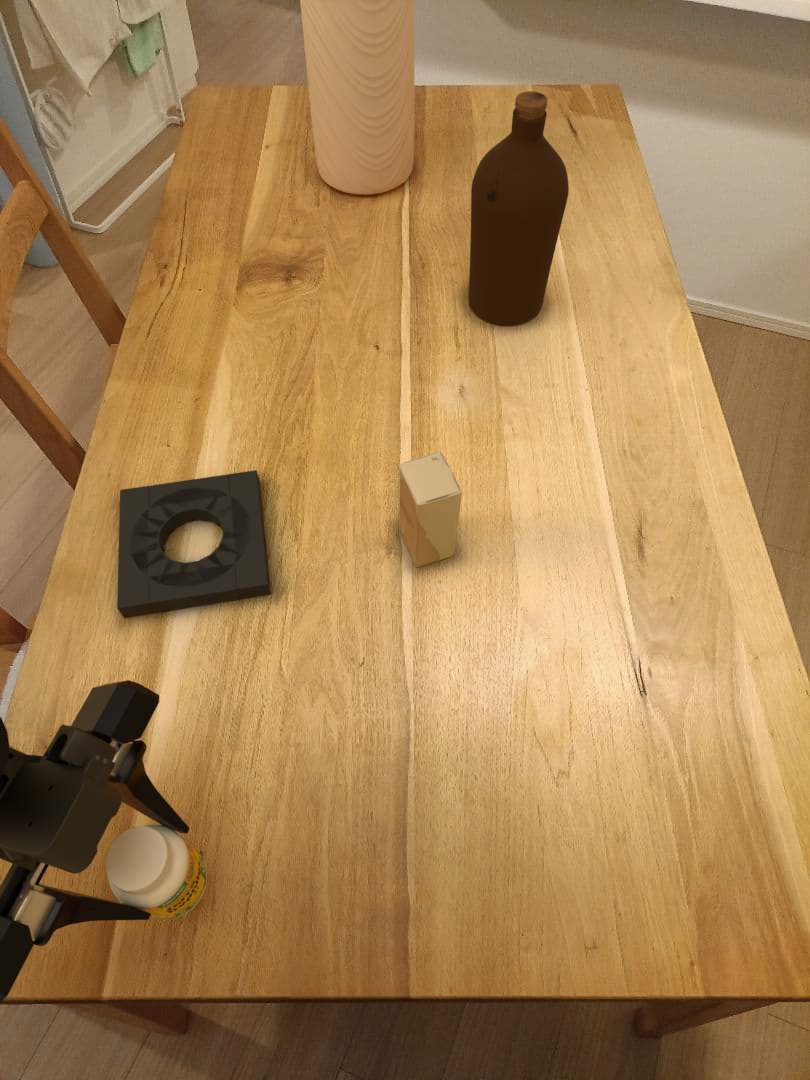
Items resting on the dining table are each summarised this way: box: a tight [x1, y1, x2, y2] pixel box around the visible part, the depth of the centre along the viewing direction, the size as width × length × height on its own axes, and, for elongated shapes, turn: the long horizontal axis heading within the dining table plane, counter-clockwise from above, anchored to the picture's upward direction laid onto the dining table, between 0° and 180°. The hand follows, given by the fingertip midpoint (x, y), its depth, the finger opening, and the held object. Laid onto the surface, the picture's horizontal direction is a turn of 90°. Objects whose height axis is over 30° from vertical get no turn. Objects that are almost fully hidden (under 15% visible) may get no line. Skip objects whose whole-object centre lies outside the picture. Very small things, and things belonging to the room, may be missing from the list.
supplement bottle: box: [104, 823, 208, 921], centre depth 54 cm, size 5×5×10 cm
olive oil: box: [467, 90, 570, 327], centre depth 87 cm, size 11×11×25 cm
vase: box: [299, 0, 415, 196], centre depth 100 cm, size 14×14×32 cm
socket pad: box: [116, 469, 272, 619], centre depth 76 cm, size 14×14×2 cm
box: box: [398, 451, 463, 568], centre depth 73 cm, size 5×4×11 cm
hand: (167, 872), depth 52 cm, fingers closed on supplement bottle, 5 cm apart
